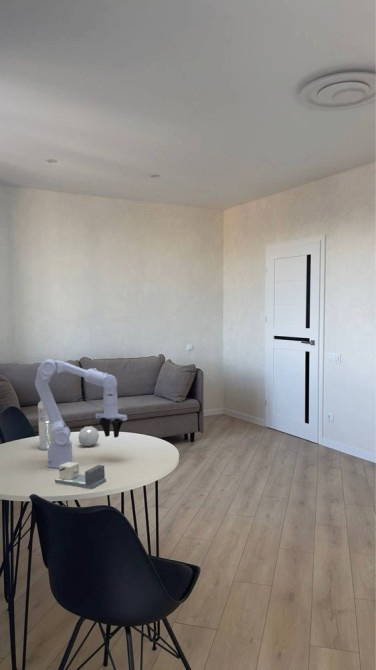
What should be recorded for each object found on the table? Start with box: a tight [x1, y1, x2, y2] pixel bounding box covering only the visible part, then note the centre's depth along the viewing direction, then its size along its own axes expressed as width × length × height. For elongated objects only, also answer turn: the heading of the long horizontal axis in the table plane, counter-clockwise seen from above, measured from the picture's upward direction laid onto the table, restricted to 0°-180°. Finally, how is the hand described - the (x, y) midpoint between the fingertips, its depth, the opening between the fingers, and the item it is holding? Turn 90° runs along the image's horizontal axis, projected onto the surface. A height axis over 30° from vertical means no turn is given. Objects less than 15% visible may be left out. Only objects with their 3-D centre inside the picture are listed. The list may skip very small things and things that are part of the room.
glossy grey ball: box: [78, 425, 100, 448], centre depth 228 cm, size 9×10×15 cm
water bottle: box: [37, 400, 54, 451], centre depth 224 cm, size 7×7×25 cm
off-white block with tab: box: [58, 461, 80, 480], centre depth 177 cm, size 6×8×5 cm
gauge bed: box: [54, 473, 107, 490], centre depth 176 cm, size 17×8×2 cm, turn 64°
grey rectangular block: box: [84, 464, 106, 485], centre depth 173 cm, size 2×8×5 cm, turn 154°
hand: (111, 436), depth 200 cm, fingers open, 4 cm apart
